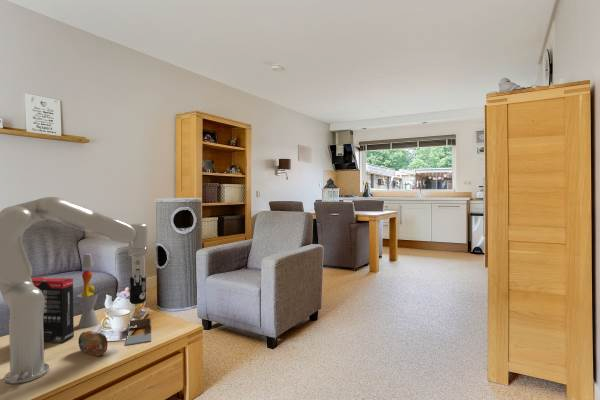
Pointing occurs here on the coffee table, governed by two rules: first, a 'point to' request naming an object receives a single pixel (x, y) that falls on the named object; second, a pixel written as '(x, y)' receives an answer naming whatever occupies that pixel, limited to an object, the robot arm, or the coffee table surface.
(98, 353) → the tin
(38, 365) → the robot arm
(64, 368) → the coffee table surface
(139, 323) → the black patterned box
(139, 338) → the grey mat
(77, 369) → the coffee table surface
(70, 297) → the graphics card box
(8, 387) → the coffee table surface
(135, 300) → the beverage can
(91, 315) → the lava lamp
